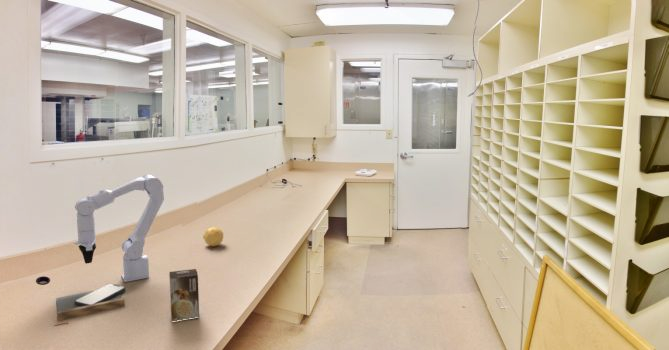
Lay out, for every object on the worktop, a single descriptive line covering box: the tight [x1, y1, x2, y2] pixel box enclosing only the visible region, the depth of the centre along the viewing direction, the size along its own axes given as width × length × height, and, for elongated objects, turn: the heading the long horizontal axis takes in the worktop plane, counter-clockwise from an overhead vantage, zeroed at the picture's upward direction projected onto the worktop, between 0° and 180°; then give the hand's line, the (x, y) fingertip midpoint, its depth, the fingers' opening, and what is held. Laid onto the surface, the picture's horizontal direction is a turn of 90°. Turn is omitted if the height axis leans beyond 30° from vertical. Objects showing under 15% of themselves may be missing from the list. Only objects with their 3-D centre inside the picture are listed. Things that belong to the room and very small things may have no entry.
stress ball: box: [203, 226, 224, 248], centre depth 210 cm, size 10×10×10 cm
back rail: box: [57, 297, 126, 322], centre depth 140 cm, size 20×2×2 cm, turn 126°
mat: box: [56, 290, 123, 312], centre depth 148 cm, size 20×18×1 cm
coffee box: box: [168, 268, 200, 322], centre depth 138 cm, size 9×6×16 cm
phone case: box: [74, 283, 126, 306], centre depth 150 cm, size 9×2×16 cm
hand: (88, 262), depth 158 cm, fingers closed
